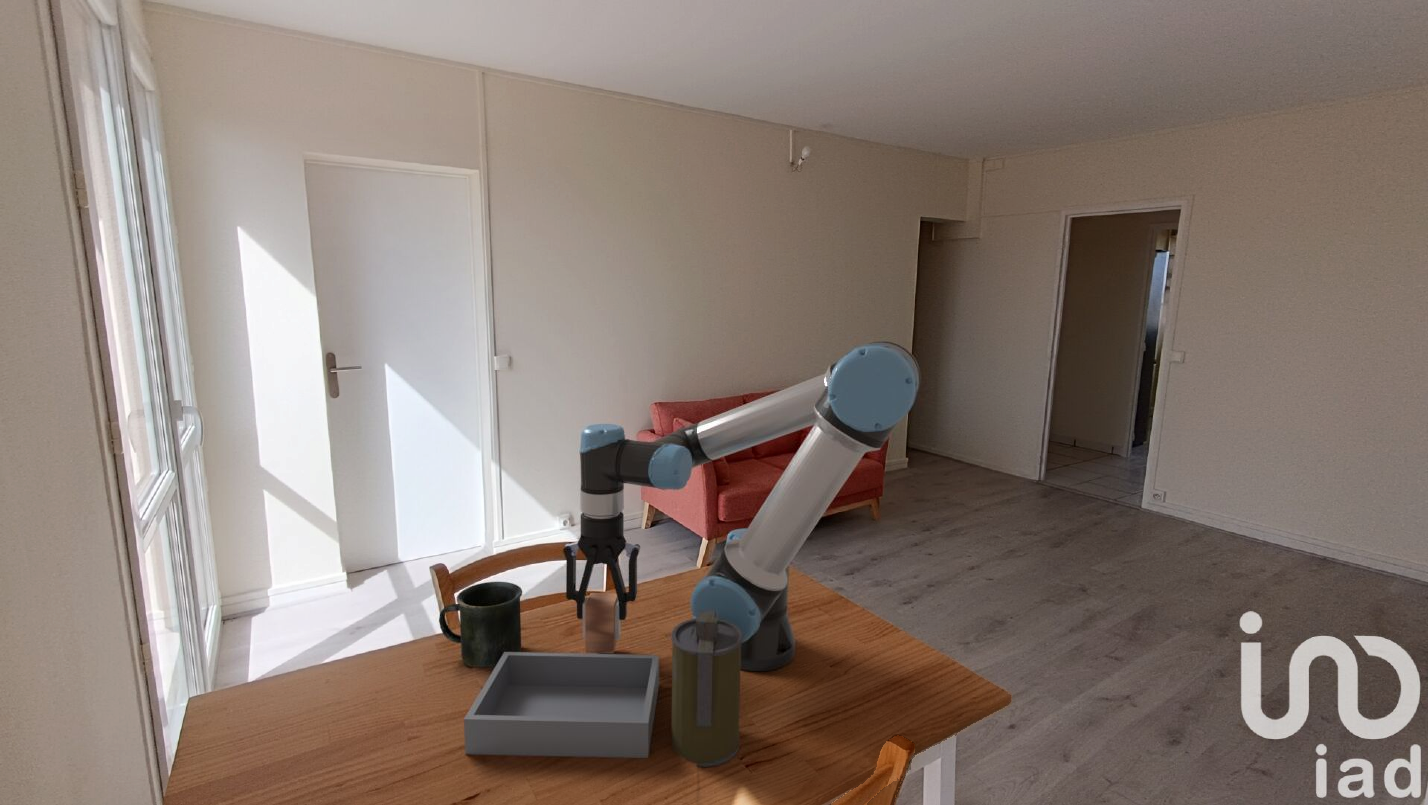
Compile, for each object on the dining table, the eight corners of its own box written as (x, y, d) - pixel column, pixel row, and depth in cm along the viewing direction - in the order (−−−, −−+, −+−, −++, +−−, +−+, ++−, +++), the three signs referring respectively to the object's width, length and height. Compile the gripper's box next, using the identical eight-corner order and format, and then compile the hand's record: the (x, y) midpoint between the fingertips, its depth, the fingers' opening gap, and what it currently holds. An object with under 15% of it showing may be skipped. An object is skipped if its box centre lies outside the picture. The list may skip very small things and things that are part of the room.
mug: (517, 671, 116) (515, 606, 114) (431, 673, 115) (428, 608, 113) (528, 639, 127) (527, 580, 125) (450, 641, 125) (447, 582, 123)
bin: (658, 688, 112) (659, 655, 111) (647, 761, 94) (648, 723, 93) (505, 684, 112) (504, 651, 111) (465, 757, 94) (463, 719, 93)
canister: (673, 719, 103) (674, 599, 100) (739, 722, 103) (743, 602, 100) (665, 768, 93) (667, 635, 90) (740, 771, 92) (744, 638, 89)
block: (617, 639, 123) (617, 593, 121) (613, 653, 118) (613, 606, 116) (590, 638, 123) (590, 592, 121) (585, 652, 118) (585, 605, 116)
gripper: (655, 506, 120) (653, 626, 124) (556, 504, 120) (557, 623, 124) (651, 520, 113) (649, 647, 116) (545, 517, 113) (547, 644, 116)
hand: (601, 634), depth 120 cm, fingers closed on block, 5 cm apart
